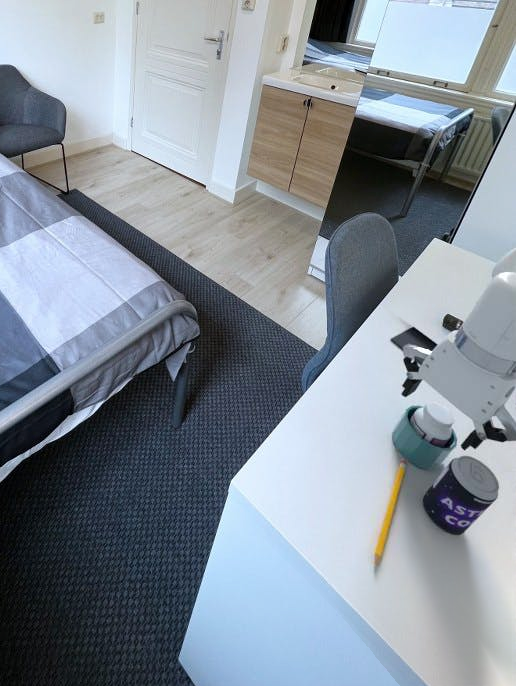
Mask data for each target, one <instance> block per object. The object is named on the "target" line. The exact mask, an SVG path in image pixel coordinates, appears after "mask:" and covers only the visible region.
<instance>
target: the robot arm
mask: <svg viewBox="0 0 516 686" xmlns="http://www.w3.org/2000/svg"><path fill="white" fill-rule="evenodd" d="M491 278H492V279H491V280H490V281H489V283H488V284H487V286H486V288H484V290H483V292H482V293H481V295H480V296H479V298H478V300H477V301H476V303H475V304H474V306H473V307H472V309H471V310H470V312H469V313H468V315H467V316H466V318H465V319H464V321H463V322H462V324H461V325H460V327H459V328H458V329H455V330H452V331H451V332H450V333H449V334H447V335H446V336H445V337H444V338H443V339H442V340H441V341H439V343H437V344H438V345H437V346H436V347H435V348H434V350H433V351H429V350H426V349H423V348H420V347H418V346H415V345H412V344H406V345H405V346H403V349H402V353H403V360H402V361H403V364H404V366H405V369H406V372H405V373H406V374H405V375H406V379H405V380H404V382H403V384H402V387H403V390H402V392H401V393H400V394H401V396H402V397H405V398H407V397H409V396H410V395H412V394H413V393H415V392H416V391H417V389H418V387H419V386H420V385H421V383H422V382H423V381H424V382H425V383H426V384H427V385H428V386H429V387H431V388H432V389H433V390H434V391H436V392H437V393H438V394H439V395H441V396H442V397H443V398H444V399H445V400H447V401H448V402H449V403H450V404H451V405H452V406H454V407H455V408H456V409H457V410H459V411H460V412H461V413H462V414H464V415H465V416H466V417H467V418H468V419H470V420H471V421H472V423H473V426H474V429H473V430H472V431H471V432H470V433H469V434H468V435H467V436H466V437H465V439H464V440H463V441H462V442H461V444H460V447H461V449H462V450H463V451H465V452H466V450H467V449H468V448H470V447H471V448H473V450H476V449H478V448H479V447H480V446H481V444H482V443H483V442H484V441H487V440H490V441H494V442H499V443H505V442H515V441H516V420H515V419H514V418H513V416H512V414H511V413H510V412H509V410H507V408H506V407H505V405H506V404H507V402H508V401H509V399H510V398H511V396H512V395H513V393H514V391H515V389H516V247H514V248H512V249H511V250H510V251H508V252H507V253H506V254H504V255H503V256H502V257H501V258H500V259H499V260H497V262H496V263H495V264H494V266H493V267H492V271H491ZM414 356H417V357H420V358H422V359H425V360H424V362H423V363H422V365H421V364H420V365H419V364H418V361H416V359H415V357H414ZM493 417H496V418H497V419H498V421H500V423H501V425H502V426H503V428H501V427H495V424H494V421H493Z"/></svg>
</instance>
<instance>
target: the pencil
mask: <svg viewBox="0 0 516 686" xmlns="http://www.w3.org/2000/svg"><path fill="white" fill-rule="evenodd" d="M407 466H408V463H407V460H406V459H401V461H400V464H399V468H398V471H397V475H396V478H395V482H394V484H393V489H392V492H391V495H390V499H389V502H388V505H387V509H386V513H385V516H384V520H383V523H382V526H381V531H380V534H379V537H378V541H377V544H376V547H375V551H374V561H373V562H374V564H373V565H374V567H376V566H377V565H378V563H379V562H380V560H381V558H382V555H383V552H384V548H385V544H386V541H387V538H388V533H389V530H390V526H391V523H392V519H393V515H394V513H395V512H394V511H395V508H396V504H397V500H398V497H399V493H400V490H401V486H402V483H403V479H404V477H405V476H404V475H405V471H406V469H407Z"/></svg>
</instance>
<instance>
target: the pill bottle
mask: <svg viewBox="0 0 516 686" xmlns="http://www.w3.org/2000/svg"><path fill="white" fill-rule="evenodd" d="M422 407H423V408H419V409H417V410H416V411H415V413H414V415H413V416H412V418H411V419H410V421H409V424H410V425H411V427H412V428H413V430H414V431H415V432H416V433H417V434H418V435H419V436H420V437H421V438H422V439H423V440H425V441H427V442H428V443H430V444H431V445H434V446H437V447H440V448H443V446H444V445H445V444H446V442H447V441H448V440H449V438H450V437H451V434H452V429H453V428H452V426H453V425H454V422H455V418H454V415H453V414H452V412H451V411H450V410H449V409H448V408H446V407H445V406H444V405H442V404H440V403H438V402H435V401H429V402H427V403H426V404H425V406H422ZM451 428H452V429H451Z"/></svg>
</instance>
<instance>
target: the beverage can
mask: <svg viewBox="0 0 516 686" xmlns="http://www.w3.org/2000/svg"><path fill="white" fill-rule="evenodd" d="M499 490H500V483H499V479H498V478H497V476H496V475H495V473H494V472H493V471H492V470H491V469H490V468H489V467H488V465H486V464H485V463H484V462H482V461H481V460H479V459H477V458H475V457H473V456H469V455H461V456H459V457H455V458H452V460H451V461H449V463H448V465H446V467H445V468H444V469H443V470H442V472H441V473H440V474H439V475H438V477H437V478H436V479H435V481H434V482H433V483H432V484H431V485H430V486H429V488H428V489H427V490H426V491H425V493H424V494H423V496H422V506H423V509H424V511H425V513H426V514H427V516H428V517H429V519H430V521H432V522H433V523H434V525H436V526H437V527H438V528H439V529H440V530H442V531H444V532H445V533H448V534H449V535H453V536H461V535H463V534H464V533H465V532H466V531H467V530H468V529H469V528H470V527H471V526H472V525H473V524H474V523H475V522H476V521H477V520H478V519H479V518H480V517H481V515H483V514H484V513H485V511H487V509H489V507H490V506H491V505H492V504H493V503H494V502H496V500H497V499H498V497H499Z"/></svg>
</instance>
